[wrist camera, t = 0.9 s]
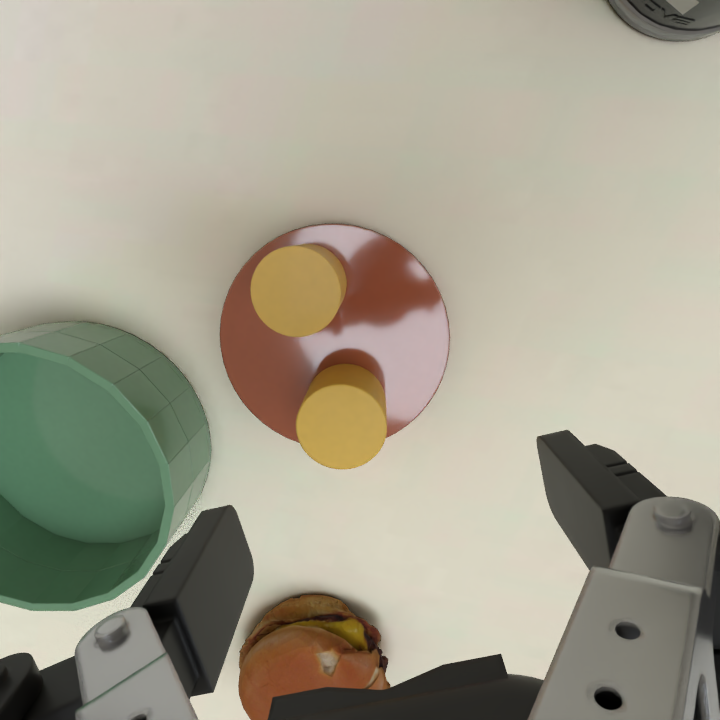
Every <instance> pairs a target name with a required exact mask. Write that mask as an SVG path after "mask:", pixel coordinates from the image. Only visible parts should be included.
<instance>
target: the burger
mask: <svg viewBox="0 0 720 720" xmlns="http://www.w3.org/2000/svg"><path fill="white" fill-rule="evenodd" d="M380 641H381V635H380V633H379V631H378V630H377V629H376V628H375V627H374V626H373V625H369V624H368V622H367V621H366V620H365V619H362V618H360V617H357V616H355V615H354V614H353V613H352V612H350V611H349V609H348V607H347V606H346V604H344V603H343V602H342V601H341V600H338V599H336V598H333V597H330V596H324V595H301V596H300V598H295V599H293V598H290V599H288V600H287V601H284V602H282V603H280V604H279V605H278V606H276V607H275V608H273V609H272V610H270V611H269V612H268V613H267V614H266V615H265V616H264V617H263V619H262V621H261V622H260V623H259V624H258V625H256V627H255V629H254V630H253V632H252V633H251V635H250V636H249V637H248V638H247V639H246V640H245V644H244V645H243V646H242V649H241V650H240V651H239V652H240V660H239V668H240V676H239V685H238V687H239V696H240V699H241V702H242V705H243V708H244V710H245V711H246V713H247V715H248V716H249V718H250V719H251V720H268V716H269V711H270V707H271V702H272V698H273V697H276V696H281V695H287V694H292V693H297V692H303V691H308V690H313V689H318V688H324V687H338V688H356V689H374V690H384V689H388V688H390V684H389V683H388V682H387V680H386V677H385V672H386V668H387V664H388V659H387V658H386V657H385V656H382V655H381V654H382V650H381V649H379V647H378V642H380Z"/></svg>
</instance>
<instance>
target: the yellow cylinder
mask: <svg viewBox="0 0 720 720" xmlns="http://www.w3.org/2000/svg"><path fill="white" fill-rule="evenodd" d="M346 287H347V280H346V274H345V271H344V268H343V266H342V264H341V262H340V261H339V260H338V258H337V257H336V256H335V255H334V254H333V253H332V252H330V251H329V250H327V249H326V248H324V247H321V246H318V245H314V244H300V245H293V246H287V247H282V248H279V249H277V250H274V251H273V252H271V253H269V254H268V255H267V256H265V257H264V258H263V259H262V260H261V262H260V263H259V264H258V266H257V267H256V269H255V271H254V274H253V276H252V280H251V288H250V290H251V299H252V303H253V306H254V309H255V311H256V313H257V314H258V316H259V317H260V319H261V320H262V321H263V322H264V323H265V324H266V325H267V326H268V327H269V328H271V329H272V330H274V331H276V332H277V333H280V334H282V335H286V336H290V337H305V336H309V335H312V334H315V333H317V332H319V331H321V330H322V329H323V328H325V327H326V326H327V325H328V324H329V323H330V322H331V321H332V319H333V318H334V316H335V315H336V313H337V311H338V309H339V307H340V305H341V303H342V301H343V299H344V297H345V293H346Z"/></svg>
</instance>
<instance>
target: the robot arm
mask: <svg viewBox="0 0 720 720" xmlns="http://www.w3.org/2000/svg"><path fill="white" fill-rule="evenodd" d="M608 1H609V2H610V4H611V5H612V7H613V8H614V10H615V11H616V12H617V13H618V14H619V15H620V17H622V18H623V19H624V20H625V21H626V22H627V23H628V24H630V25H631V26H632V27H634V28H635V29H637V30H639V31H640V32H642V33H644V34H647V35H649V36H651V37H655V38H658V39H663V40H669V41H689V40H695V39H700V38H704V37H708V36H711V35H713V34H716V33H719V32H720V0H608ZM537 449H538V454H539V459H540V465H541V470H542V475H543V481H544V486H545V491H546V496H547V499H548V503H549V506H550V508H551V511H552V513H553V515H554V517H555V519H556V520H557V522H558V523H559V525H560V526H561V528H562V529H563V531H564V532H565V534H566V535H567V537H568V539H569V540H570V542H571V543H572V545H573V546H574V548H575V549H576V551H577V552H578V554H579V555H580V557H581V558H582V560H583V561H584V563H585V564H586V566H587V567H588V569H589V570H590V572H589V574H588V576H587V578H586V581H585V583H584V586H583V588H582V590H581V593H580V595H579V598H578V600H577V602H576V605H575V607H574V610H573V612H572V614H571V617H570V619H569V622H568V624H567V626H566V629H565V631H564V633H563V636H562V638H561V641H560V643H559V645H558V648H557V650H556V653H555V655H554V657H553V660H552V662H551V665H550V667H549V669H548V672H547V674H546V677H545V679H544V680H541V679H537V678H533V677H528V676H522V675H514V674H507V672H506V669H505V665H504V662H503V659H502V656H501V654H498V655H492V656H487V657H482V658H477V659H471V660H466V661H461V662H455V663H450V664H445V665H442V666H439V667H437V668H435V669H432V670H430V671H428V672H426V673H423V674H421V675H419V676H416V677H414V678H412V679H409V680H407V681H405V682H403V683H400V684H398V685H396V686H393V687H391V688H388V689H384V690H374V689H356V688H338V687H324V688H318V689H313V690H308V691H303V692H297V693H292V694H287V695H281V696H276V697H273V698H272V702H271V707H270V711H269V716H268V720H720V521H719V518H718V516H717V515H716V513H715V512H714V511H713V510H711V509H710V508H709V507H707V506H705V505H703V504H701V503H699V502H696V501H693V500H690V499H686V498H679V497H667V496H666V495H665V494H664V493H663V492H662V491H660V490H659V489H658V488H657V487H656V486H655V485H653V484H652V483H651V482H650V481H649V480H648V479H647V478H645V477H644V476H643V475H642V474H641V473H640V472H637V470H636V469H635V468H634V467H633V466H631V465H630V464H629V463H628V464H627V461H626V460H625V459H623V458H622V457H621V456H620V455H619V454H618V453H616V452H615V451H614V450H611V449H608V448H605V447H603V446H600V445H597V444H593V445H588V446H584V445H583V444H582V443H581V442H580V441H579V440H578V439H577V438H576V437H575V436H574V435H573V434H572V433H571V432H570V431H569V430H564V431H560V432H555V433H551V434H546V435H542V436H538V437H537ZM253 575H254V566H253V559H252V555H251V552H250V549H249V547H248V544H247V541H246V538H245V535H244V532H243V529H242V526H241V524H240V521H239V518H238V515H237V512H236V510H235V509H234V507H233V506H231V505H227V506H223V507H218V508H214V509H209V510H205V511H202V512H201V513H200V515H199V516H198V518H197V519H196V521H195V523H194V524H193V526H192V527H191V529H190V531H189V532H188V533H187V534H184V535H183V536H182V537H181V538H180V539H179V540H178V541H177V542H175V543H174V544H173V545H172V546H171V547H170V548H169V549H168V551H167V552H166V554H165V555H164V557H163V559H162V560H161V564H159V565H158V566H157V568H156V569H155V571H154V572H153V576H151V577H150V578H149V580H148V581H147V583H146V584H145V586H144V587H143V589H142V590H141V592H140V593H139V595H138V596H137V598H136V599H135V601H134V602H133V604H132V605H131V607H130V608H127V609H123V610H121V611H118V612H116V613H113V614H112V615H110V616H108V617H106V618H105V619H103V620H101V621H100V622H99V623H97V624H96V625H95V626H93V627H92V628H91V629H90V630H89V631H88V632H87V633H86V634H85V635H84V636H83V637H82V638H81V640H80V641H79V643H78V645H77V647H76V649H75V656H73V657H71V658H68V659H66V660H64V661H61V662H59V663H57V664H54V665H52V666H50V667H47V668H45V669H43V670H40V671H39V669H38V667H37V665H36V663H35V661H34V659H33V657H32V656H31V655H30V654H29V653H17V654H13V655H10V656H7V657H5V658H2V659H0V720H198V718H197V716H196V714H195V711H194V709H193V707H192V705H191V703H190V700H189V699H190V697H191V696H197V695H202V694H207V693H212V692H214V689H215V686H216V683H217V681H218V678H219V675H220V672H221V669H222V666H223V664H224V661H225V658H226V655H227V652H228V649H229V647H230V644H231V641H232V638H233V635H234V632H235V630H236V627H237V624H238V621H239V618H240V615H241V613H242V610H243V607H244V604H245V601H246V598H247V596H248V593H249V590H250V587H251V584H252V581H253Z"/></svg>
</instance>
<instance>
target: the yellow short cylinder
mask: <svg viewBox="0 0 720 720" xmlns="http://www.w3.org/2000/svg"><path fill="white" fill-rule="evenodd" d="M296 433H297V437H298V440H299V442H300V444H301V446H302V448H303V449H304V451H305V452H306V453H307V454H308V455H309V456H310V457H311V458H312V459H313V460H315V461H316V462H318V463H320V464H321V465H324V466H326V467H330V468H334V469H351V468H355V467H358V466H361V465H363V464H365V463H367V462H368V461H370V460H371V459H372V458H373V457H375V456H376V454H377V453H378V452H379V451H380V449H381V448H382V446H383V444H384V441H385V438H386V433H387V416H386V399H385V393H384V390H383V387H382V385H381V384H380V382H379V380H378V379H377V378H376V377H375V376H374V375H373V374H372V373H371V372H369V371H368V370H366V369H365V368H362V367H360V366H357V365H353V364H338V365H334V366H331V367H328V368H326V369H324V370H323V371H321V372H320V373H319V374H318V375H317V376H316V377H315V378H314V379H313V381H312V382H311V384H310V386H309V388H308V391H307V393H306V395H305V397H304V400H303V402H302V404H301V406H300V409H299V411H298V414H297V418H296Z"/></svg>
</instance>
